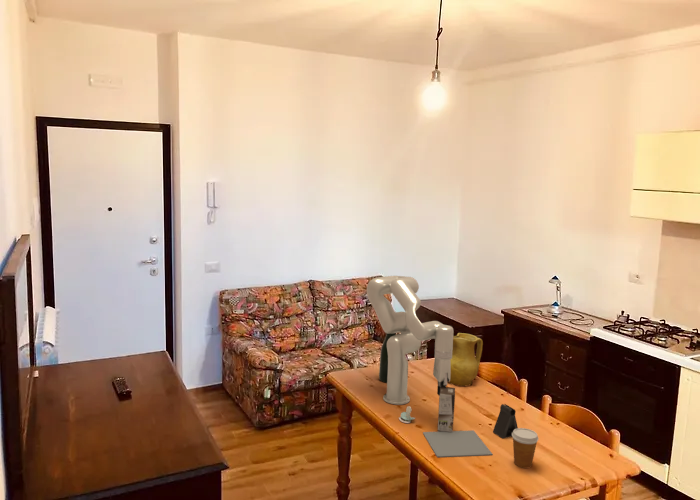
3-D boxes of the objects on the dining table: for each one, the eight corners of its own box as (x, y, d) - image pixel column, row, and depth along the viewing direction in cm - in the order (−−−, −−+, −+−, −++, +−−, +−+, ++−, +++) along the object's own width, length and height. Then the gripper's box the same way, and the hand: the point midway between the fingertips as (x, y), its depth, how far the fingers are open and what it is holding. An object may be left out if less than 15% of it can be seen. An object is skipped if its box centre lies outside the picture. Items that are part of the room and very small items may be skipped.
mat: (422, 433, 229) (422, 432, 229) (473, 431, 232) (473, 430, 232) (437, 457, 209) (437, 456, 209) (492, 455, 213) (492, 453, 213)
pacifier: (405, 425, 236) (416, 422, 239) (405, 411, 235) (417, 408, 238) (395, 418, 243) (406, 415, 246) (395, 405, 242) (407, 402, 245)
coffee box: (452, 432, 229) (455, 395, 228) (437, 430, 231) (439, 393, 229) (453, 423, 238) (455, 387, 237) (438, 421, 240) (440, 385, 238)
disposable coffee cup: (506, 456, 212) (509, 426, 210) (531, 457, 212) (534, 428, 210) (513, 469, 203) (515, 438, 201) (539, 470, 202) (542, 439, 201)
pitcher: (442, 373, 299) (447, 329, 295) (477, 378, 297) (483, 333, 293) (443, 386, 283) (448, 339, 278) (480, 391, 280) (486, 344, 276)
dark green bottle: (377, 376, 293) (380, 315, 289) (396, 376, 294) (399, 315, 290) (380, 383, 283) (383, 320, 279) (400, 383, 284) (403, 320, 280)
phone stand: (509, 429, 236) (511, 402, 234) (519, 435, 230) (521, 407, 229) (492, 432, 232) (494, 405, 231) (501, 438, 227) (504, 410, 225)
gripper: (429, 348, 246) (428, 388, 248) (440, 359, 231) (438, 401, 233) (446, 348, 247) (444, 388, 249) (457, 359, 232) (455, 401, 234)
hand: (441, 394), depth 241 cm, fingers closed
